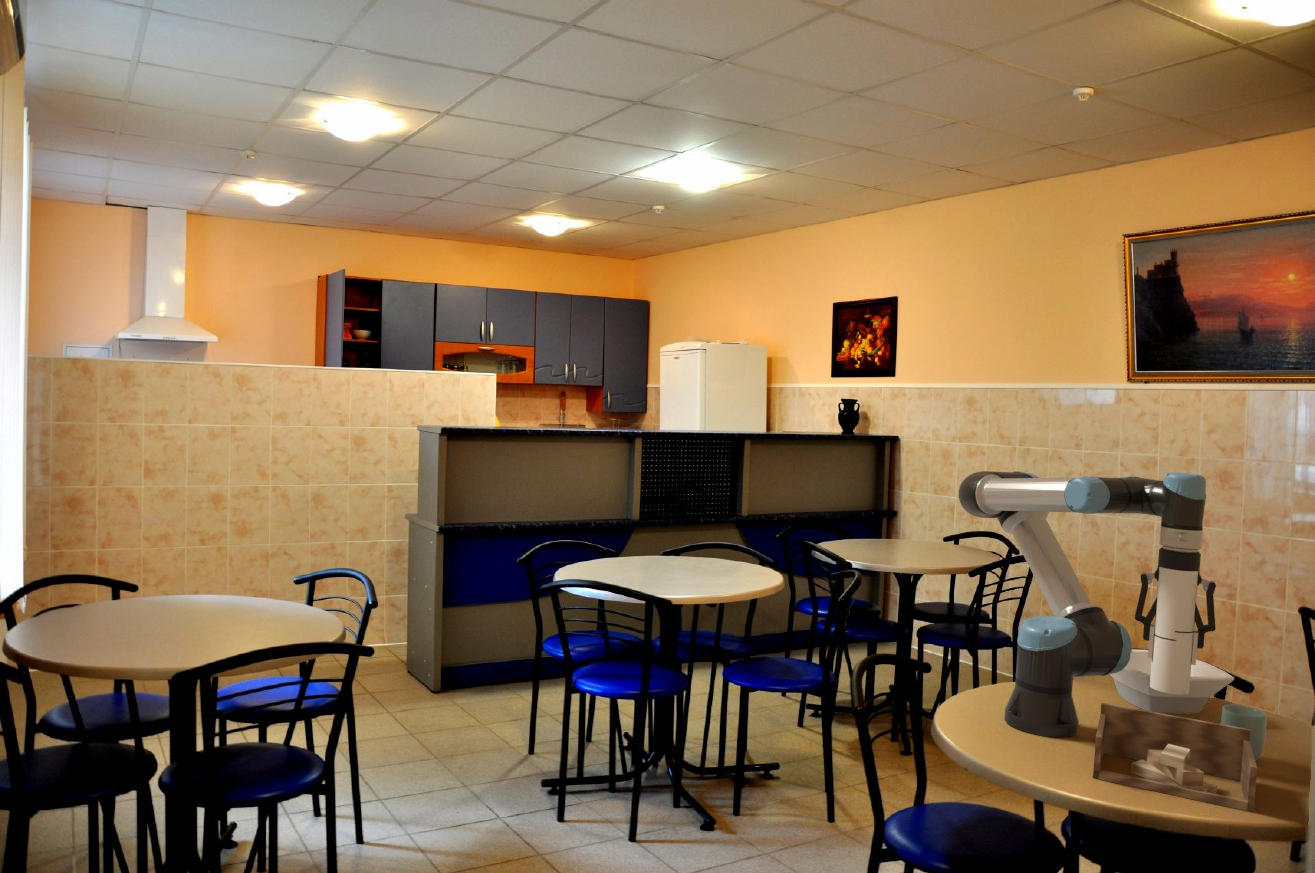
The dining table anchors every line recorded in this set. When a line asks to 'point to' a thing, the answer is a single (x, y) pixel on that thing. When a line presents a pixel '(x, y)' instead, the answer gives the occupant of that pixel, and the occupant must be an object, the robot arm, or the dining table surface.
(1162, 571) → the cylindrical container
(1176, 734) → the rack
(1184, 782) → the offcut middle
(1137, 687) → the bowl
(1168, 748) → the offcut top
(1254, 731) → the cup
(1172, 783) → the offcut bottom
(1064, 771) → the dining table surface
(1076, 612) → the robot arm
